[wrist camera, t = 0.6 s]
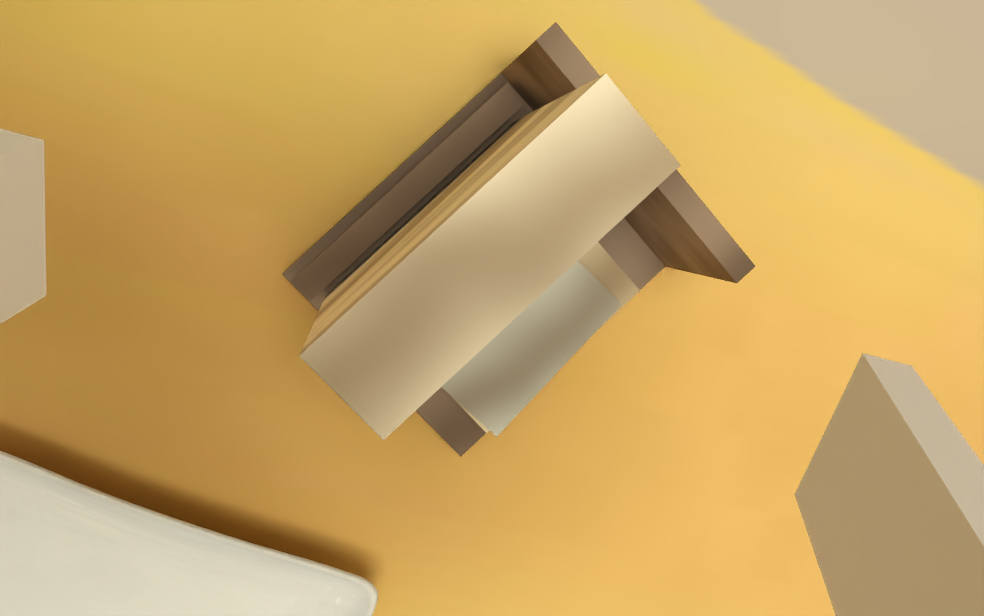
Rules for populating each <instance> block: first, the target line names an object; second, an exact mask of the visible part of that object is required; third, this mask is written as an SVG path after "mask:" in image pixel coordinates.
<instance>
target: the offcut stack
mask: <svg viewBox="0 0 984 616" xmlns="http://www.w3.org/2000/svg"><path fill="white" fill-rule="evenodd" d="M639 291H640V290H639V289H638V288H637V287H636V285H635V284H634V283H633V282H632V281H631V280H630V278H629V277H628V276H627V275H626V274H625V273H624V271H623V270H622V269H621V268H620V267H619V266H618V265H617V263H616V262H615V261H614V260H613V259H612V258H611V256H610V255H609V254H608V253H607V252H606V251H605V249H604V248H603V247H602V246H601V245H600V244H599V242H597V243H596V244H595V245H594V246H593V247H592V248H591V249H590V250H589V251H587V252H586V253H585V254H584V255H583V256H582V257H581V258H580V259H579V260H578V261H577V262H576V263H574V264H573V265H572V266H571V267H570V268H569V269H568V270H567V271H566V272H565V273H564V274H563V275H562V276H560V277H559V278H558V279H557V280H556V281H555V282H554V283H553V284H552V285H551V286H550V287H549V288H547V289H546V290H545V291H544V292H543V293H542V294H541V295H540V296H539V297H538V298H537V299H536V300H535V301H533V302H532V303H531V304H530V305H529V306H528V307H527V308H526V309H525V310H524V311H523V312H522V313H520V314H519V315H518V316H517V317H516V318H515V319H514V320H513V321H512V322H511V323H510V324H509V325H508V326H506V327H505V328H504V329H503V330H502V331H501V332H500V333H499V334H498V335H497V336H496V337H495V338H493V339H492V340H491V341H490V342H489V343H488V344H487V345H486V346H485V347H484V348H483V349H482V350H481V351H479V352H478V353H477V354H476V355H475V356H474V357H473V358H472V359H471V360H470V361H469V362H468V363H467V364H465V365H464V366H463V367H462V368H461V369H460V370H459V371H458V372H457V373H456V374H455V375H454V376H452V377H451V378H450V379H449V380H448V381H447V382H446V383H445V384H444V385H443V386H442V388H443V389H444V390H445V391H446V392H447V393H448V394H449V395H450V396H451V397H452V398H453V399H454V400H455V401H456V402H457V403H458V404H459V405H460V406H461V407H462V408H463V409H464V410H465V411H466V412H467V413H468V414H469V415H470V417H471V418H472V419H473V420H474V421H475V422H476V423H477V424H478V425H479V426H480V427H481V428H482V429H483V430H484V431H485V432H486V433H487V432H489V431H491V432H492V433H493V434H494V435H495V436H496V437H497V436H498V435H499V434H500V433H501V432H502V431H503V430H504V428H505V427H506V426H507V425H508V424H509V423H510V422H511V421H512V420H513V419H514V418H515V417H516V416H517V415H518V414H519V413H520V411H521V410H522V409H523V408H524V407H525V406H526V405H527V404H528V403H529V402H530V401H531V400H532V399H533V398H534V397H535V396H536V394H537V393H538V392H539V391H540V390H541V389H542V388H543V387H544V386H545V385H546V384H547V383H548V382H549V381H550V380H551V379H552V377H553V376H554V375H555V374H556V373H557V372H558V371H559V370H560V369H561V368H562V367H563V366H564V365H565V364H566V363H567V362H568V361H569V359H570V358H571V357H572V356H573V355H574V354H575V353H576V352H577V351H578V350H579V349H580V348H581V347H582V346H583V345H584V344H585V342H586V341H587V340H588V339H589V338H590V337H591V336H592V335H593V334H594V333H595V332H596V331H597V330H598V329H599V328H600V327H602V326H603V325H604V324H605V323H606V322H607V321H608V320H609V319H610V318H611V317H612V316H613V315H614V314H616V313H617V312H618V311H619V310H620V309H621V308H622V307H623V306H624V305H625V304H626V303H627V302H628V301H630V300H631V299H632V298H633V297H634V296H635V295H636V294H637V293H638V292H639Z"/></svg>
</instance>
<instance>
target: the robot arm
mask: <svg viewBox="0 0 984 616" xmlns="http://www.w3.org/2000/svg"><path fill="white" fill-rule="evenodd" d="M45 296H46V231H45V164H44V140H42V139H39V138H35V137H31V136H27V135H23V134H19V133H16V132H12V131H8V130H4V129H0V324H1V323H3V322H4V321H6V320H8V319H9V318H11V317H13V316H14V315H16V314H17V313H19V312H21V311H22V310H24V309H25V308H27V307H29V306H30V305H32V304H34V303H35V302H37V301H38V300H40V299H42V298H43V297H45ZM795 497H796V500H797V503H798V506H799V509H800V512H801V515H802V517H803V520H804V523H805V526H806V529H807V532H808V535H809V538H810V541H811V544H812V547H813V550H814V553H815V556H816V559H817V562H818V565H819V567H820V570H821V573H822V576H823V579H824V582H825V585H826V588H827V591H828V594H829V597H830V600H831V603H832V606H833V609H834V612H835V615H836V616H984V465H983V463H982V462H981V461H980V459H979V458H978V456H977V455H976V454H975V452H974V451H973V450H972V448H971V447H970V445H969V444H968V443H967V441H966V440H965V439H964V437H963V436H962V434H961V433H960V432H959V430H958V429H957V428H956V426H955V425H954V423H953V422H952V421H951V419H950V418H949V416H948V415H947V414H946V412H945V411H944V410H943V408H942V407H941V405H940V404H939V403H938V401H937V400H936V399H935V397H934V396H933V394H932V393H931V392H930V390H929V389H928V387H927V386H926V385H925V383H924V382H923V381H922V379H921V378H920V376H919V375H918V374H917V372H916V371H915V370H914V368H913V367H912V366H910V365H906V364H902V363H899V362H895V361H891V360H887V359H883V358H879V357H876V356H872V355H868V354H864V353H863V354H862V356H861V358H860V360H859V362H858V364H857V366H856V368H855V370H854V372H853V374H852V376H851V378H850V381H849V383H848V385H847V387H846V389H845V391H844V393H843V395H842V397H841V399H840V401H839V403H838V405H837V408H836V410H835V412H834V414H833V416H832V418H831V420H830V422H829V424H828V426H827V428H826V430H825V432H824V435H823V437H822V439H821V441H820V443H819V445H818V447H817V449H816V451H815V453H814V455H813V457H812V459H811V462H810V464H809V466H808V468H807V470H806V472H805V474H804V476H803V478H802V480H801V482H800V484H799V486H798V489H797V491H796V493H795Z"/></svg>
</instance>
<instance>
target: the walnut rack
mask: <svg viewBox="0 0 984 616" xmlns="http://www.w3.org/2000/svg"><path fill="white" fill-rule="evenodd" d="M598 77H600V75H599V74H598V73H597V72H596V70H595V69H594V68H593V67H592V66H591V64H590V63H589V62H588V61H587V59H586V58H585V57H584V56H583V55H582V53H581V52H580V51H579V50H578V48H577V47H576V46H575V45H574V44H573V42H572V41H571V40H570V39H569V37H568V36H567V35H566V34H565V33H564V31H563V30H562V29H561V28H560V26H559V25H558V24H557V23H556V22H555V23H554V24H553V25H552V26H551V27H550V28H549V29H548V30H547V31H546V32H544V33H543V34H542V35H541V36H540V37H539V38H538V39H537V40H536V41H535V42H534V43H533V44H532V45H530V46H529V47H528V48H527V49H526V50H525V51H524V52H523V53H522V54H521V55H520V56H519V57H518V58H517V59H516V60H514V61H513V62H512V63H511V64H510V65H509V66H508V67H507V68H506V69H505V70H504V71H503V72H502V73H501V74H500V75H498V76H497V77H496V78H495V79H494V80H493V81H492V82H491V83H490V84H489V85H488V86H486V87H485V88H484V89H483V90H482V91H481V92H480V93H479V94H478V95H477V96H476V97H474V98H473V99H472V100H471V101H470V102H469V103H468V104H467V105H466V106H465V107H464V108H463V109H461V110H460V111H459V112H458V113H457V114H456V115H455V116H454V117H453V118H452V119H451V120H449V121H448V122H447V123H446V124H445V125H444V126H443V127H442V128H441V129H440V130H439V131H437V132H436V133H435V134H434V135H433V136H432V137H431V138H430V139H429V140H428V141H427V142H425V143H424V144H423V145H422V146H421V147H420V148H419V149H418V150H417V151H416V152H415V153H413V154H412V155H411V156H410V157H409V158H408V159H407V160H406V161H405V162H404V163H403V164H402V165H400V166H399V167H398V168H397V169H396V170H395V171H394V172H393V173H392V174H391V175H390V176H388V177H387V178H386V179H385V180H384V181H383V182H382V183H381V184H380V185H379V186H378V187H376V188H375V189H374V190H373V191H372V192H371V193H370V194H369V195H368V196H367V197H366V198H364V199H363V200H362V201H361V202H360V203H359V204H358V205H357V206H356V207H355V208H354V209H352V210H351V211H350V212H349V213H348V214H347V215H346V216H345V217H344V218H343V219H342V220H340V221H339V222H338V223H337V224H336V225H335V226H334V227H333V228H332V229H331V230H330V231H329V232H327V233H326V234H325V235H324V236H323V237H322V238H321V239H320V240H319V241H318V242H317V243H315V244H314V245H313V246H312V247H311V248H310V249H309V250H308V251H307V252H306V253H305V254H303V255H302V256H301V257H300V258H299V259H298V260H297V261H296V262H295V263H294V264H293V265H291V266H290V267H289V268H288V269H287V270H286V271H285V272H284V273H283V274H282V275H283V276H284V277H285V278H286V279H287V280H288V281H289V282H290V283H291V284H292V285H293V286H294V287H295V288H296V289H297V290H298V291H299V292H300V293H301V294H302V295H303V296H304V297H305V298H306V299H307V300H308V301H309V302H310V303H311V304H312V305H313V306H314V307H315V308H316V309H317V310H318V311H319V310H320V307H321V305H322V303H323V300H324V298H325V296H326V294H327V293H328V292H329V291H330V290H332V289H333V288H334V287H335V286H336V285H337V284H338V283H339V282H340V281H341V280H342V279H344V278H345V277H346V276H347V275H348V274H349V273H350V272H351V271H352V270H353V269H354V268H355V267H357V266H358V265H359V264H360V263H361V262H362V261H363V260H364V259H365V258H366V257H367V256H369V255H370V254H371V253H372V252H373V251H374V250H375V249H376V248H377V247H378V246H379V245H380V244H382V243H383V242H384V241H385V240H386V239H387V238H388V237H389V236H390V235H391V234H392V233H394V232H395V231H396V230H397V229H398V228H399V227H400V226H401V225H402V224H403V223H404V222H405V221H407V220H408V219H409V218H410V217H411V216H412V215H413V214H414V213H415V212H416V211H417V210H419V209H420V208H421V207H422V206H423V205H424V204H425V203H426V202H427V201H428V200H429V199H430V198H432V197H433V196H434V195H435V194H436V193H437V192H438V191H439V190H440V189H441V188H442V187H444V186H445V185H446V184H447V183H448V182H449V181H450V180H451V179H452V178H453V177H454V176H455V175H457V174H458V173H459V172H460V171H461V170H462V169H463V168H464V167H465V166H466V165H467V164H469V163H470V162H471V161H472V160H473V159H474V158H475V157H476V156H477V155H478V154H479V153H481V152H482V151H483V150H484V149H485V148H486V147H487V146H488V145H489V144H490V143H491V142H492V141H494V140H495V139H496V138H497V137H498V136H499V135H500V134H501V133H502V132H503V131H504V130H506V129H507V128H508V127H509V126H510V125H511V124H512V123H513V122H514V121H516V120H518V119H520V118H522V117H524V116H525V115H527V114H529V113H531V112H533V111H535V110H537V109H539V108H541V107H543V106H545V105H546V104H548V103H550V102H552V101H554V100H556V99H558V98H560V97H562V96H564V95H566V94H568V93H569V92H571V91H573V90H575V89H577V88H579V87H581V86H583V85H585V84H587V83H589V82H590V81H592V80H594V79H596V78H598ZM598 242H599V244H600V245H601V246H602V247H603V248H604V249H605V251H606V252H607V253H608V254H609V255H610V256H611V258H612V259H613V260H614V261H615V262H616V263H617V265H618V266H619V267H620V268H621V269H622V270H623V271H624V273H625V274H626V275H627V276H628V277H629V278H630V280H631V281H632V282H633V283H634V284H635V285H636V287H637V288H638V289H639V290H640V289H642V288H643V287H644V286H645V285H646V284H647V283H648V282H649V281H650V280H651V279H652V278H653V277H654V276H656V275H657V274H658V273H659V272H660V271H661V270H662V269H663V268H664V267H670V268H674V269H678V270H682V271H687V272H691V273H695V274H700V275H704V276H708V277H713V278H717V279H721V280H725V281H730V282H734V283H738V282H739V281H740V280H741V279H742V278H743V277H744V276H745V275H746V274H748V273H749V272H750V271H751V270H752V269H753V268H754V267H755V265H754V264H753V263H752V261H751V260H750V259H749V258H748V257H747V255H746V254H745V253H744V252H743V250H742V249H741V248H740V247H739V246H738V244H737V243H736V242H735V241H734V239H733V238H732V237H731V236H730V235H729V233H728V232H727V231H726V230H725V228H724V227H723V226H722V225H721V224H720V222H719V221H718V220H717V219H716V217H715V216H714V215H713V214H712V212H711V211H710V210H709V209H708V208H707V206H706V205H705V204H704V203H703V201H702V200H701V199H700V198H699V197H698V195H697V194H696V193H695V192H694V190H693V189H692V188H691V187H690V186H689V184H688V183H687V182H686V181H685V179H684V178H683V177H682V176H681V175H680V173H679V172H678V171H677V170H675V171H674V172H673V173H672V174H671V175H669V176H668V177H667V178H666V179H665V180H664V181H663V182H662V183H661V184H660V185H659V186H658V187H657V188H655V189H654V190H653V191H652V192H651V193H650V194H649V195H648V196H647V197H646V198H645V199H644V200H642V201H641V202H640V203H639V204H638V205H637V206H636V207H635V208H634V209H633V210H632V211H631V212H630V213H628V214H627V215H626V216H625V217H624V218H623V219H622V220H621V221H620V222H619V223H618V224H617V225H615V226H614V227H613V228H612V229H611V230H610V231H609V232H608V233H607V234H606V235H605V236H604V237H603V238H601V239H600V240H599V241H598ZM416 412H417V413H418V414H419V415H420V416H421V417H422V418H423V419H424V420H425V421H426V422H427V423H428V424H429V425H430V426H431V427H432V428H433V429H434V430H435V431H436V432H437V433H438V434H439V435H440V436H441V437H442V438H443V439H444V440H445V441H446V442H447V443H448V444H449V445H450V446H451V447H452V448H453V449H454V450H455V451H456V452H457V453H458V454H459V455H460V457H461V456H462V455H463V454H464V453H465V452H466V451H467V450H468V449H469V448H470V447H471V446H473V445H474V444H475V443H476V442H477V441H478V440H479V439H480V438H481V437H482V436H483V435H484V434H485V433H486V432H485V431H484V430H483V429H482V428H481V427H480V426H479V425H478V424H477V423H476V422H475V421H474V420H473V419H472V418H471V417H470V415H469V414H468V413H467V412H466V411H465V410H464V409H463V408H462V407H461V406H460V405H459V404H458V403H457V402H456V401H455V400H454V399H453V398H452V397H451V396H450V395H449V394H448V393H447V392H446V391H445V390H444V389H443V388H442V387H441V388H440V389H438V390H437V391H436V392H435V393H434V394H433V395H432V396H431V397H430V398H429V399H428V400H427V401H425V402H424V403H423V404H422V405H421V406H420V407H419V408H418V409H417V410H416Z"/></svg>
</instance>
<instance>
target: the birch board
mask: <svg viewBox="0 0 984 616" xmlns="http://www.w3.org/2000/svg"><path fill="white" fill-rule="evenodd" d="M679 166H680V164H679V162H678V161H677V160H676V159H675V158H674V156H673V155H672V154H671V153H670V151H669V150H668V149H667V148H666V147H665V145H664V144H663V143H662V142H661V140H660V139H659V138H658V137H657V135H656V134H655V133H654V132H653V131H652V129H651V128H650V127H649V126H648V124H647V123H646V122H645V121H644V120H643V118H642V117H641V116H640V115H639V113H638V112H637V111H636V110H635V108H634V107H633V106H632V105H631V104H630V102H629V101H628V100H627V99H626V97H625V96H624V95H623V94H622V92H621V91H620V90H619V89H618V88H617V86H616V85H615V84H614V83H613V81H612V80H611V79H610V78H609V77H608V75H607V74H604V75H602V76H600V77H598V78H596V79H594V80H592V81H590V82H589V83H587V84H585V85H583V86H581V87H579V88H577V89H575V90H573V91H571V92H569V93H568V94H566V95H564V96H562V97H560V98H558V99H556V100H554V101H552V102H550V103H548V104H546V105H545V106H543V107H541V108H539V109H537V110H535V111H533V112H531V113H529V114H527V115H525V116H524V117H522V118H520V119H518V120H516V121H514V122H513V123H512V124H511V125H510V126H509V127H508V128H507V129H506V130H504V131H503V132H502V133H501V134H500V135H499V136H498V137H497V138H496V139H495V140H494V141H492V142H491V143H490V144H489V145H488V146H487V147H486V148H485V149H484V150H483V151H482V152H481V153H479V154H478V155H477V156H476V157H475V158H474V159H473V160H472V161H471V162H470V163H469V164H467V165H466V166H465V167H464V168H463V169H462V170H461V171H460V172H459V173H458V174H457V175H455V176H454V177H453V178H452V179H451V180H450V181H449V182H448V183H447V184H446V185H445V186H444V187H442V188H441V189H440V190H439V191H438V192H437V193H436V194H435V195H434V196H433V197H432V198H430V199H429V200H428V201H427V202H426V203H425V204H424V205H423V206H422V207H421V208H420V209H419V210H417V211H416V212H415V213H414V214H413V215H412V216H411V217H410V218H409V219H408V220H407V221H405V222H404V223H403V224H402V225H401V226H400V227H399V228H398V229H397V230H396V231H395V232H394V233H392V234H391V235H390V236H389V237H388V238H387V239H386V240H385V241H384V242H383V243H382V244H380V245H379V246H378V247H377V248H376V249H375V250H374V251H373V252H372V253H371V254H370V255H369V256H367V257H366V258H365V259H364V260H363V261H362V262H361V263H360V264H359V265H358V266H357V267H355V268H354V269H353V270H352V271H351V272H350V273H349V274H348V275H347V276H346V277H345V278H344V279H342V280H341V281H340V282H339V283H338V284H337V285H336V286H335V287H334V288H333V289H332V290H330V291H329V292H328V293H327V294H326V296H325V298H324V300H323V303H322V305H321V307H320V310H319V312H318V314H317V316H316V319H315V321H314V323H313V325H312V328H311V330H310V332H309V335H308V337H307V339H306V341H305V344H304V346H303V348H302V350H301V353H300V355H299V356H300V357H301V358H302V359H303V360H304V361H305V362H306V363H307V364H308V365H309V366H310V367H311V368H312V369H313V370H314V371H315V372H316V373H317V374H318V375H319V376H320V377H321V378H322V379H323V380H324V381H325V382H326V383H327V384H328V385H329V386H330V387H331V388H332V389H333V390H334V391H335V392H336V393H337V394H338V395H339V396H340V397H341V398H342V399H343V400H344V401H345V402H346V403H347V404H348V405H349V406H350V407H351V408H352V409H353V410H354V411H355V412H356V413H357V414H358V415H359V416H360V417H361V418H362V419H363V420H364V421H365V422H366V423H367V424H368V425H369V426H370V427H371V428H372V429H373V430H374V431H375V432H376V433H377V434H378V435H379V436H380V437H381V438H382V439H383V440H384V439H386V438H387V437H388V436H389V435H390V434H391V433H392V432H393V431H394V430H395V429H396V428H397V427H398V426H400V425H401V424H402V423H403V422H404V421H405V420H406V419H407V418H408V417H409V416H410V415H411V414H413V413H414V412H415V411H416V410H417V409H418V408H419V407H420V406H421V405H422V404H423V403H424V402H425V401H427V400H428V399H429V398H430V397H431V396H432V395H433V394H434V393H435V392H436V391H437V390H438V389H440V388H441V387H442V386H443V385H444V384H445V383H446V382H447V381H448V380H449V379H450V378H451V377H452V376H454V375H455V374H456V373H457V372H458V371H459V370H460V369H461V368H462V367H463V366H464V365H465V364H467V363H468V362H469V361H470V360H471V359H472V358H473V357H474V356H475V355H476V354H477V353H478V352H479V351H481V350H482V349H483V348H484V347H485V346H486V345H487V344H488V343H489V342H490V341H491V340H492V339H493V338H495V337H496V336H497V335H498V334H499V333H500V332H501V331H502V330H503V329H504V328H505V327H506V326H508V325H509V324H510V323H511V322H512V321H513V320H514V319H515V318H516V317H517V316H518V315H519V314H520V313H522V312H523V311H524V310H525V309H526V308H527V307H528V306H529V305H530V304H531V303H532V302H533V301H535V300H536V299H537V298H538V297H539V296H540V295H541V294H542V293H543V292H544V291H545V290H546V289H547V288H549V287H550V286H551V285H552V284H553V283H554V282H555V281H556V280H557V279H558V278H559V277H560V276H562V275H563V274H564V273H565V272H566V271H567V270H568V269H569V268H570V267H571V266H572V265H573V264H574V263H576V262H577V261H578V260H579V259H580V258H581V257H582V256H583V255H584V254H585V253H586V252H587V251H589V250H590V249H591V248H592V247H593V246H594V245H595V244H596V243H597V242H598V241H599V240H600V239H601V238H603V237H604V236H605V235H606V234H607V233H608V232H609V231H610V230H611V229H612V228H613V227H614V226H615V225H617V224H618V223H619V222H620V221H621V220H622V219H623V218H624V217H625V216H626V215H627V214H628V213H630V212H631V211H632V210H633V209H634V208H635V207H636V206H637V205H638V204H639V203H640V202H641V201H642V200H644V199H645V198H646V197H647V196H648V195H649V194H650V193H651V192H652V191H653V190H654V189H655V188H657V187H658V186H659V185H660V184H661V183H662V182H663V181H664V180H665V179H666V178H667V177H668V176H669V175H671V174H672V173H673V172H674V171H675V170H676V169H677V168H678V167H679Z"/></svg>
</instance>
